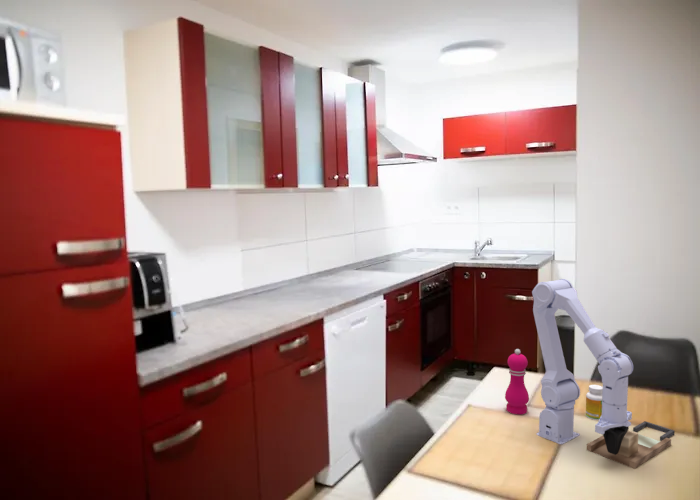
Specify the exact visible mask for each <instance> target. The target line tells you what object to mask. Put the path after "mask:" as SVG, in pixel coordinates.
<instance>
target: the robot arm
mask: <svg viewBox="0 0 700 500" xmlns="http://www.w3.org/2000/svg"><path fill="white" fill-rule="evenodd" d="M531 294H532V299H533V305H532V307H533V308H532V312H533V317H534V322H535V326H536V331H537V335H538V340H539V345H540V349H541V355H542V359H543V362H544V368H545V373H544V375H543V376H542V377H541V380H540V383H541V390H540V396H541V398H542V400H543V402H544V404H545V408H543V410H541V412H540V413H539V418H538V419H539V420H538V422H539V423H538V432H536V436H539V437H541V438H543V439H545V440H549V441H551V442H553V443H556V444H558V445H564V444H566V443H567V442H569V441H572V440H574V439H575V438H577V437H580V435H581V434H580V433H578V432H576V431H574V423H575V422H574V420H575V419H574V418H575V415H574V414H575V405H576V401H577V400H578V399H579V398H580V395H581V389H580V386H579V384H578V383H577V381H576V378H575V376H574V374H573V373H572V372H571V371H570V370H568V369H567V365H566V360H565V357H564V352H563V348H562V347H563V346H562V342H561V339H560V334H559V330H558V325H557V320H556V316H555V314H556V313H557V311H558V310H561V311H565V312H566V314H567V315H568V316H569V317H570V318H571V320H572V321H573V322H574V323H575V324H576V326H577V327H578V328H579V330H580V331H581V333H583V334H584V336H583V342H584V344H585V345H586V347H587V348H588V350H589V351H590V353H591V354H592V355H593V357H594V358H595V360H596V361H597V362H598V364H599V365H597V370H598V372H599V374H600V377H601V383H602V387H603V392H602V415H601V417H600V419H599V420H597V421H598V422H597V423H595V424H594V432H595V433H597V434H600V435H601V436H604V439H605V442H606V446H607V451H608V452H609V453H612V454H614V455H616V454H618V452H619V449H620V446H621V443H622V440H623V438H624V436H625V434H626V433H627V431H628V427H629V428H630V426H632V422H631V420H632V419H633V416H632V415H633V413H632V411H629V410H628V394H629V393H628V391H629V389H628V388H629V375H631V374H632V373H633V372H634V364H633V361H632V359H631V357H630V356H629V355H628V354H626V353H623V352H622V351H621V350H620V349H618V348H617V346H616V345H615V343H614V342H613V341H612V340H611V338H610V334H609V333H608V332H606V331H605V330H604V329H602V328H599V327H596V325H595V323H594V322H593V320H592V318H591V316H590V315H589V314H588V312H587V311H586V309H585V308H584V306H583V304H582V302H581V301H580V299H579V297H578V291H577V290H576V289H575V287H574V285H573V283H572V282H571V281H570V280H568V279H566V278H560V279H555V280H549V281H540V282H538V283H537V284H536V285H535V286H534V288H533V289H532V291H531Z"/></svg>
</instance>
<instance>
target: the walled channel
mask: <svg viewBox="0 0 700 500" xmlns="http://www.w3.org/2000/svg"><path fill="white" fill-rule="evenodd" d="M629 428H630V426H629V427H628V430H630V429H629ZM670 446H672V438H665V439H664V440H662V441H660V440H657V439H654V438H652V437H649V436H645V435H643V434H640V433H638V452H636V453H635V454H633V455H631V456H630V457H626V456H624V455H621V454H616V455H614V454H612V453H609V452H608V451H607V446H606V442H605V439H604V436H603V435H601V436H599V437H598V438H596V439H593V440H591V441H590V442H588V443H587V444H586V451H588V452H591V453H592V454H595V455H598V456H601V457H604V458H605V459H609V460H611V461H614V462H616V463H619V464H622V465H623V466H625V467H626V466H627V467H629V468H631V469H634V470H635V469H637V468H638V467H640V466H641V465H643V464H644V463H646V462H647V461H649V460H650V459H652V458H653V457H655V456H657V455H658V454H660V453H662V451H664V450H666V449H667V448H669V447H670Z"/></svg>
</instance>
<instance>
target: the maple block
mask: <svg viewBox="0 0 700 500" xmlns="http://www.w3.org/2000/svg"><path fill="white" fill-rule="evenodd" d="M638 434H639V432H633V430H630V429H629V430H628V431H627V433H626V434H625V436H624V438H623V440H622V443H621V446H620V449H619V452H618V454H621V455H624V456H626V457H630V456H631V455H633V454H635V453H636V452H638Z"/></svg>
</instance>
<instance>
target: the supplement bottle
mask: <svg viewBox="0 0 700 500" xmlns="http://www.w3.org/2000/svg"><path fill="white" fill-rule="evenodd" d="M602 392H603V385H602V386H601V385H598V384H590V385H588V391H587V393H586V394H585V417H586V418H587V419H590V420H593V421H599V419H600V417H601V415H602Z"/></svg>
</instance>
